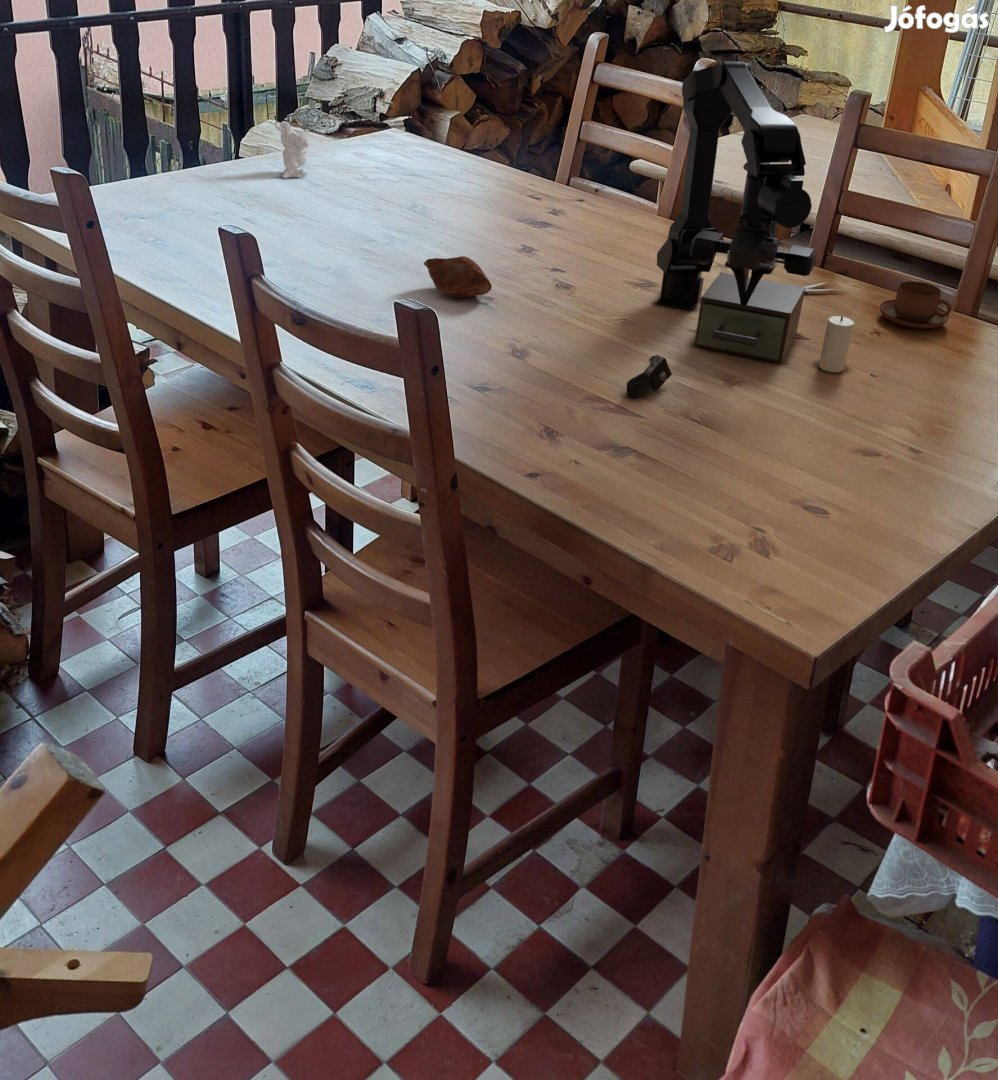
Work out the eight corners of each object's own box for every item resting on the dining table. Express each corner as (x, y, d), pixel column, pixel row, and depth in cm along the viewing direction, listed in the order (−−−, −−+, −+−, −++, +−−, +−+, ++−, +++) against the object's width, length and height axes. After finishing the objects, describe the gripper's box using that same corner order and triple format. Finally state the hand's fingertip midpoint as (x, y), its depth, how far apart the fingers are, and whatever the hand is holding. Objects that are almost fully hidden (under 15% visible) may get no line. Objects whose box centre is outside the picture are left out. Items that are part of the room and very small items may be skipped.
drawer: (771, 370, 187) (779, 330, 183) (689, 354, 191) (695, 314, 187) (791, 334, 201) (798, 295, 197) (714, 319, 205) (720, 281, 201)
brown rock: (505, 285, 206) (474, 236, 202) (470, 314, 204) (438, 265, 200) (474, 288, 217) (445, 242, 213) (441, 315, 215) (410, 268, 211)
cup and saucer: (947, 315, 215) (955, 283, 211) (945, 338, 205) (954, 305, 202) (879, 305, 218) (887, 272, 214) (875, 327, 208) (883, 293, 205)
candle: (816, 369, 191) (827, 317, 186) (820, 360, 194) (831, 309, 189) (841, 374, 190) (853, 322, 185) (845, 365, 193) (856, 314, 188)
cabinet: (781, 363, 192) (791, 313, 187) (694, 346, 196) (701, 296, 192) (796, 335, 203) (805, 287, 198) (713, 319, 207) (720, 272, 203)
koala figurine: (282, 181, 266) (280, 126, 259) (270, 173, 270) (267, 119, 264) (316, 177, 270) (315, 123, 263) (304, 169, 274) (302, 116, 268)
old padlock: (641, 412, 179) (631, 390, 175) (631, 407, 181) (622, 385, 177) (675, 375, 181) (666, 353, 177) (665, 371, 182) (656, 348, 178)
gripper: (687, 211, 176) (674, 310, 184) (813, 231, 170) (793, 333, 178) (705, 193, 184) (691, 288, 193) (825, 212, 179) (805, 309, 187)
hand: (743, 305), depth 188 cm, fingers closed
